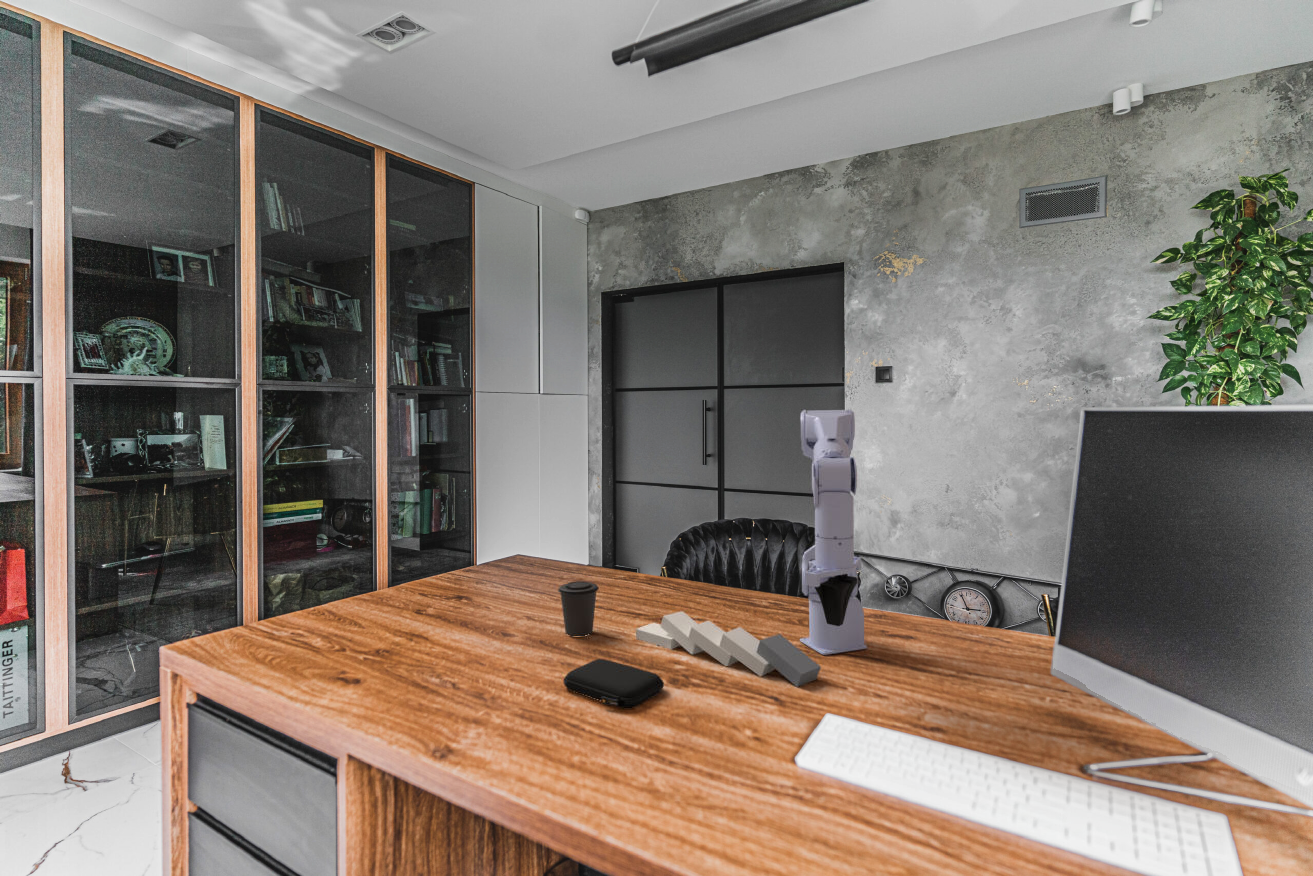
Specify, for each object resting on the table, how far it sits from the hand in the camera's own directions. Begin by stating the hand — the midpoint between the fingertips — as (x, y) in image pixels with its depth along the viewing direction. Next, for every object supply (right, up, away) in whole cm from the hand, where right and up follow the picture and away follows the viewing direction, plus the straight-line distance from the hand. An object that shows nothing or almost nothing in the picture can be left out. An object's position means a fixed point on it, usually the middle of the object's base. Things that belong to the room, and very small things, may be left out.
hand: (834, 624), depth 96 cm
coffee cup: (-43, -11, +29) cm, 53 cm away
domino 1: (-23, -10, +21) cm, 32 cm away
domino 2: (-19, -9, +17) cm, 27 cm away
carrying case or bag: (-35, -11, +1) cm, 36 cm away
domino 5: (-3, -9, +3) cm, 10 cm away
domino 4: (-8, -9, +8) cm, 15 cm away
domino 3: (-14, -9, +12) cm, 20 cm away
